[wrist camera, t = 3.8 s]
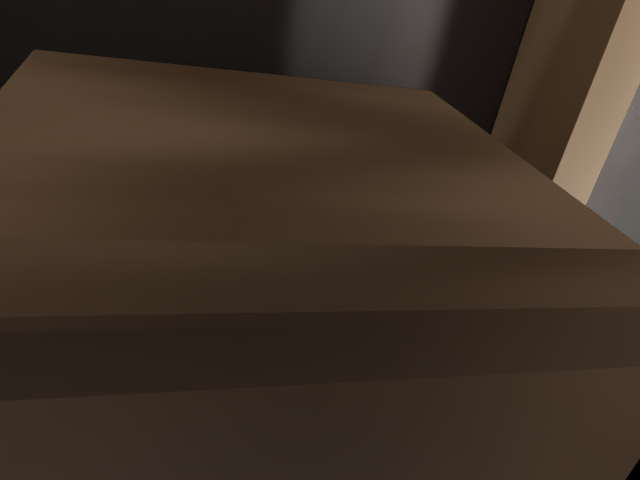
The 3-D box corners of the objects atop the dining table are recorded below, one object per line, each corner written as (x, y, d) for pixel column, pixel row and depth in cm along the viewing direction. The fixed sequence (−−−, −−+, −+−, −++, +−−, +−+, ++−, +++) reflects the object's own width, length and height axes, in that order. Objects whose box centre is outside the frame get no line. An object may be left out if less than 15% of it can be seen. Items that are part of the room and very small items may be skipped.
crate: (437, 85, 9) (750, 304, 4) (364, 364, 12) (497, 682, 7) (24, 40, 8) (-241, 319, 3) (57, 378, 11) (-39, 805, 6)
